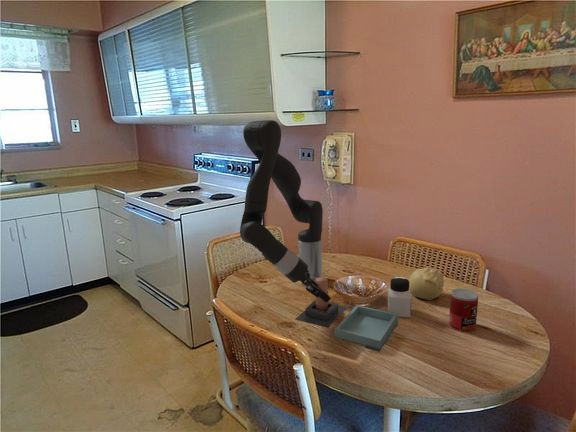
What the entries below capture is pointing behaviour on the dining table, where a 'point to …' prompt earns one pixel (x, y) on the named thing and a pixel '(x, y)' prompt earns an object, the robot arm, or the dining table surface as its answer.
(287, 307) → the dining table surface
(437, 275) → the pale yellow round lump
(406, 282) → the medicine bottle
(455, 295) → the canned food
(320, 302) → the dowel
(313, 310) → the holder
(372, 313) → the tray
